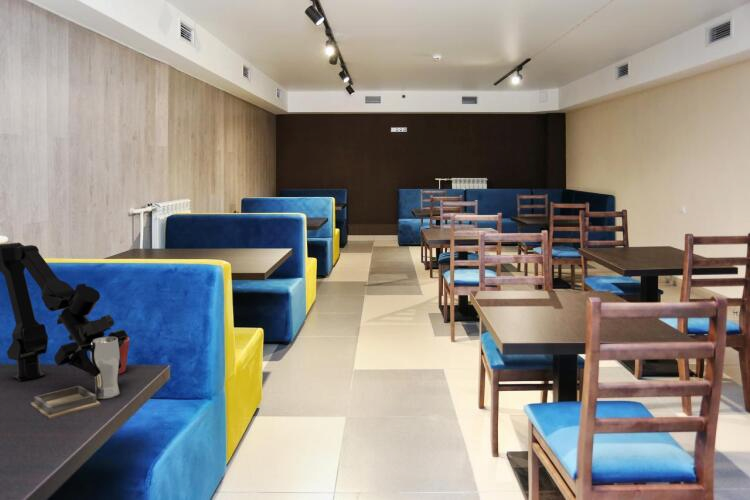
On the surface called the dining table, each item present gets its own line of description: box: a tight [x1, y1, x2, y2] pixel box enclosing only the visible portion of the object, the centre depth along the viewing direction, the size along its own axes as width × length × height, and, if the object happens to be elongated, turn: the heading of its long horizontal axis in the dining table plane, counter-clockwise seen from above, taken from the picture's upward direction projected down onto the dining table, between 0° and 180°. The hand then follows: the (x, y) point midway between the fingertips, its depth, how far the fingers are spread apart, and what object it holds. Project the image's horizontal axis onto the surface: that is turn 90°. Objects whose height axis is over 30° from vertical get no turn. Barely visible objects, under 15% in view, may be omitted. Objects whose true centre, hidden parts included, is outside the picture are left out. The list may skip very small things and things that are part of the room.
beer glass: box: [89, 335, 121, 400], centre depth 158 cm, size 7×7×15 cm
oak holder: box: [30, 385, 102, 420], centre depth 152 cm, size 14×12×2 cm
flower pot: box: [118, 336, 130, 375], centre depth 177 cm, size 11×11×10 cm
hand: (108, 371), depth 157 cm, fingers closed on beer glass, 6 cm apart
